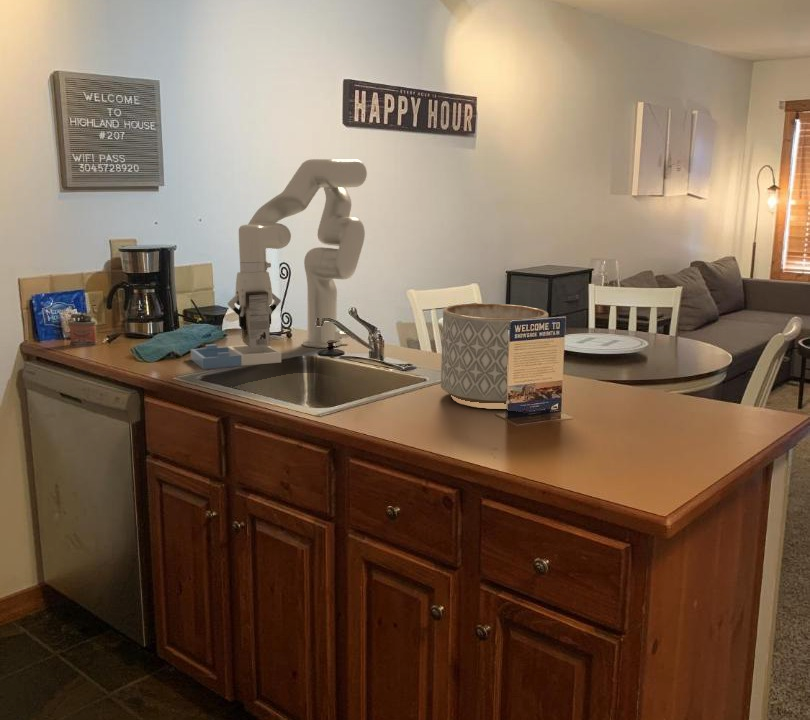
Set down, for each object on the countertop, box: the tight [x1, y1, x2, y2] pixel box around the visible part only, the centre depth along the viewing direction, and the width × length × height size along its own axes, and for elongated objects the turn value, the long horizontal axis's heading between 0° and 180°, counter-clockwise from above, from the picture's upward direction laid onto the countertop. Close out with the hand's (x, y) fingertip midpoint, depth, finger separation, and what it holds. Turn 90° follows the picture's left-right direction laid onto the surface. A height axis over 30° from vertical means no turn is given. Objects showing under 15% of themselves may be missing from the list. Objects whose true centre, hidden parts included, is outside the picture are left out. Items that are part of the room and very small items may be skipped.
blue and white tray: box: [190, 343, 282, 370], centre depth 234 cm, size 23×14×4 cm, turn 119°
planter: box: [440, 303, 549, 404], centre depth 196 cm, size 26×26×22 cm
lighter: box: [68, 312, 98, 347], centre depth 250 cm, size 8×3×10 cm, turn 94°
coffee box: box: [241, 291, 271, 348], centre depth 234 cm, size 9×6×16 cm
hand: (255, 327), depth 235 cm, fingers closed on coffee box, 6 cm apart
